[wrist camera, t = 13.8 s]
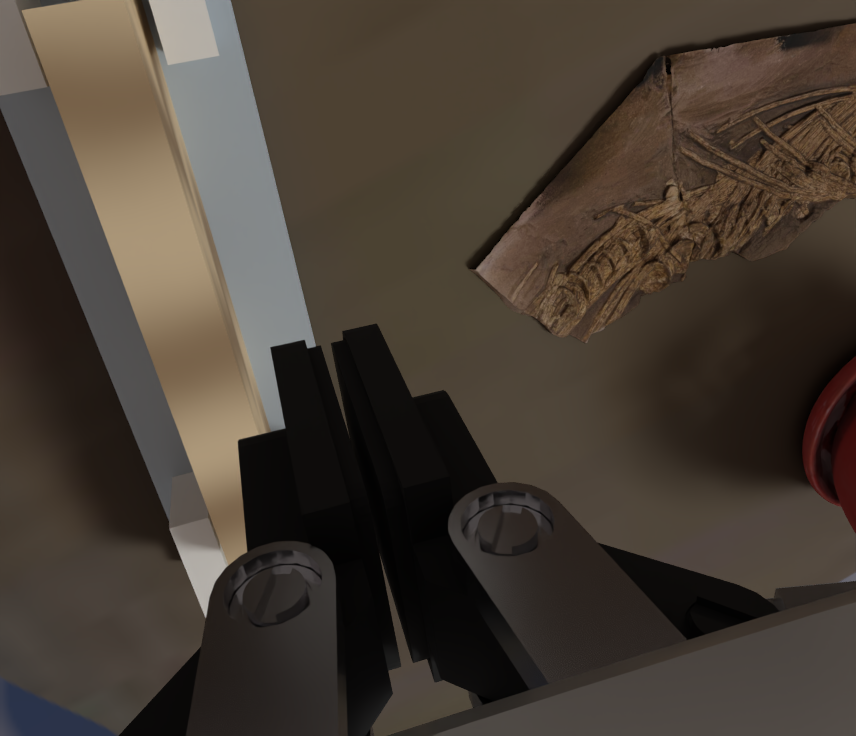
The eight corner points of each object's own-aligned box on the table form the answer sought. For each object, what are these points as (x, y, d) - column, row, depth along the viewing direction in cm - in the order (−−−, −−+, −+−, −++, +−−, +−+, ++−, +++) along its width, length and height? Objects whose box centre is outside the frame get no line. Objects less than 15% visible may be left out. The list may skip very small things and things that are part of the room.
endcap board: (-79, -111, 22) (-139, -131, 18) (192, -148, 23) (191, -174, 20) (192, 562, 35) (190, 633, 31) (356, 514, 36) (375, 577, 33)
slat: (61, 4, 23) (21, 10, 18) (139, -8, 24) (121, -7, 19) (233, 500, 33) (239, 595, 28) (287, 485, 33) (302, 576, 28)
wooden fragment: (507, 374, 36) (515, 384, 35) (427, 159, 30) (434, 164, 29) (973, 149, 37) (993, 153, 36) (979, -96, 31) (1002, -98, 31)
